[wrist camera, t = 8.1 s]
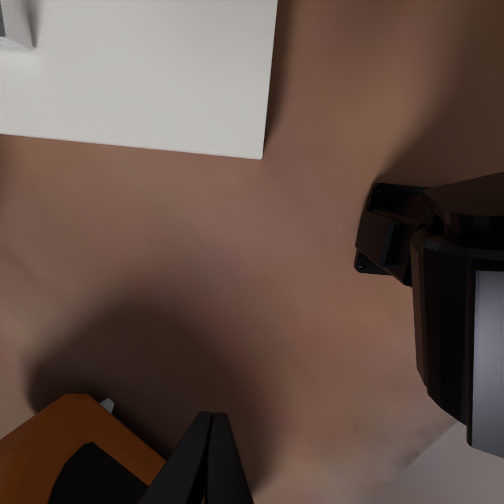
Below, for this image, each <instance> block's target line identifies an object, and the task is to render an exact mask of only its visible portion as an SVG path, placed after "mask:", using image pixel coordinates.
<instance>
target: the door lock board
mask: <svg viewBox="0 0 504 504" xmlns="http://www.w3.org/2000/svg"><path fill="white" fill-rule="evenodd" d="M24 1H25V2H27V7H28V14H29V22H30V30H31V38H32V46H33V51H24V50H15V49H6V48H0V134H7V135H17V136H27V137H37V138H48V139H58V140H68V141H78V142H88V143H98V144H108V145H118V146H128V147H139V148H149V149H159V150H169V151H179V152H189V153H199V154H209V155H219V156H230V157H240V158H250V159H262V153H263V143H264V133H265V123H266V113H267V103H268V93H269V82H270V72H271V62H272V52H273V42H274V32H275V22H276V12H277V2H278V0H24Z"/></svg>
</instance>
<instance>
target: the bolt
mask: <svg viewBox="0 0 504 504" xmlns="http://www.w3.org/2000/svg"><path fill="white" fill-rule="evenodd" d="M0 48H6V49H15V50H24V51H33V46H32V38H31V30H30V22H29V14H28V7H27V2H25V1H24V0H0Z"/></svg>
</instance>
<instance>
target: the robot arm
mask: <svg viewBox="0 0 504 504" xmlns="http://www.w3.org/2000/svg"><path fill="white" fill-rule="evenodd" d="M379 187H380V188H381V192H380V193H379V194H377V193H376V190H377V188H379ZM355 247H356V248H357V252H356V257H355V261H354V268H355V269H356V270H357V271H358V272H360V273H368V274H380V275H391V276H393V277H395V278H396V279H397V280H399V281H400V282H401V283H402V284H404V285H406V286H409V287H411V288H412V289H413V307H414V326H415V344H416V362H417V370H418V372H419V374H420V376H421V378H422V381H423V383H424V385H425V386H426V387H427V393H428V395H429V396H430V397H431V398H432V399H433V400H434V401H435V402H436V404H437V405H438V406H439V407H440V408H442V409H443V410H444V411H446V412H447V413H448V414H450V415H451V416H453V417H454V418H455V419H457V420H458V421H459V422H461V423H463V424H464V425H466V426H467V443H468V444H469V445H470V446H471V447H473V448H476V449H478V450H482V451H484V452H487V453H490V454H493V455H496V456H499V457H501V458H504V172H500V173H496V174H491V175H487V176H482V177H478V178H473V179H469V180H465V181H460V182H456V183H451V184H447V185H442V186H438V187H434V188H427V187H416V186H406V185H396V184H386V183H376V184H374V185H373V186H372V187H371V189H370V193H369V198H368V202H367V207H366V210H365V211H364V212H363V213H362V216H361V220H360V225H359V229H358V234H357V239H356V243H355ZM362 263H364V266H363V267H362V268H359V265H360V264H362ZM203 499H204V504H254V502H253V498H252V495H251V492H250V488H249V485H248V482H247V478H246V475H245V472H244V468H243V465H242V461H241V458H240V455H239V451H238V448H237V445H236V441H235V438H234V435H233V431H232V428H231V425H230V421H229V418H228V415H227V413H224V412H215V413H214V414H213V413H212V412H210V411H200V412H199V413H198V415H197V416H196V418H195V419H194V421H193V422H192V424H191V425H190V426H189V428H188V429H187V431H186V432H185V434H184V435H183V437H182V438H181V440H180V441H179V443H178V444H177V446H176V447H175V449H174V450H173V452H172V453H171V455H170V456H169V458H168V459H167V461H166V462H165V464H164V465H163V467H162V468H161V470H160V471H159V473H158V474H157V475H156V477H155V478H154V480H153V481H152V483H151V484H150V486H149V487H148V489H147V490H146V492H145V493H144V495H143V496H142V498H141V499H140V501H139V502H138V504H203Z"/></svg>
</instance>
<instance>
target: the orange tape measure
mask: <svg viewBox="0 0 504 504" xmlns="http://www.w3.org/2000/svg"><path fill="white" fill-rule="evenodd" d="M113 406H114V402H113V401H111V400H110V399H109V398H107V399H105V400H104V401H102V402H101V403H98V402H97V401H95V400H94V399H93V398H92V397H91V396H90V395H88V394H65V395H63V396H62V397H60V398H59V399H57V400H56V401H54V402H53V403H52V404H50V405H49V406H47V407H46V408H44V409H43V410H42V411H40V412H39V413H37V414H36V415H35V416H33V417H32V418H30V419H29V420H27V421H26V422H25V423H23V424H22V425H20V426H19V427H18V428H16V429H15V430H13V431H12V432H10V433H9V434H8V435H6V436H5V437H3V438H2V439H1V440H0V504H138V502H139V501H140V499H141V498H142V496H143V495H144V493H145V492H146V490H147V489H148V487H149V486H150V484H151V483H152V481H153V480H154V478H155V477H156V475H157V474H158V473H159V471H160V470H161V468H162V467H163V465H164V464H165V462H166V460H165V459H164V458H163V457H161V456H160V455H159V454H158V453H157V452H156V451H154V450H153V449H152V448H151V447H150V446H148V445H147V444H146V443H145V442H144V441H143V440H141V439H140V438H139V437H138V436H137V435H136V434H134V433H133V432H132V431H131V430H130V429H128V428H127V427H126V426H125V425H124V424H123V423H121V422H120V421H119V420H118V419H117V418H116V417H114V416H113V415H112V414H111V413H112V409H113ZM203 504H204V499H203Z"/></svg>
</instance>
